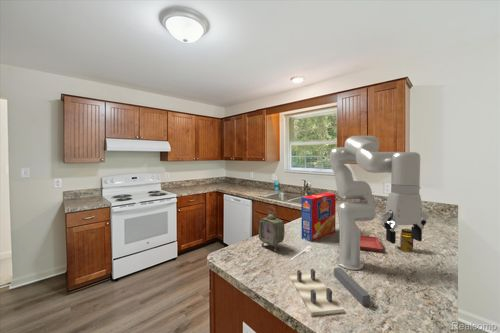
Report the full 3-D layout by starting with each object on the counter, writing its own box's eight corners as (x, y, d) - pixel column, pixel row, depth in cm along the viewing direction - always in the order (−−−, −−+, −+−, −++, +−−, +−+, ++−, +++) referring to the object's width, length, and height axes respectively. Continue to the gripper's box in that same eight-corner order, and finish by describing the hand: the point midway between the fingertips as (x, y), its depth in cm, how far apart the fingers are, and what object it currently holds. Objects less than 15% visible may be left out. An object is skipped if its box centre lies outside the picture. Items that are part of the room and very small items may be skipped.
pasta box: (311, 242, 136) (311, 198, 135) (301, 238, 143) (301, 197, 142) (335, 232, 153) (335, 194, 152) (325, 229, 160) (325, 192, 159)
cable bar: (334, 276, 97) (334, 267, 97) (340, 275, 98) (340, 267, 98) (362, 306, 78) (362, 295, 77) (370, 305, 78) (370, 295, 78)
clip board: (289, 277, 97) (289, 266, 96) (314, 275, 98) (314, 263, 98) (311, 316, 73) (311, 301, 73) (344, 312, 74) (344, 297, 74)
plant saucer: (383, 254, 119) (383, 248, 119) (347, 249, 126) (348, 244, 126) (377, 242, 136) (377, 237, 136) (346, 238, 143) (346, 233, 142)
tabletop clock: (258, 245, 132) (258, 205, 131) (268, 241, 138) (268, 203, 137) (275, 253, 121) (275, 209, 120) (286, 249, 127) (285, 207, 126)
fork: (288, 260, 114) (287, 256, 114) (307, 248, 128) (307, 245, 128) (293, 262, 112) (293, 258, 112) (312, 249, 126) (312, 246, 126)
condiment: (414, 254, 118) (415, 232, 118) (396, 251, 122) (396, 230, 122) (412, 249, 125) (413, 228, 124) (395, 246, 129) (395, 226, 128)
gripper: (417, 187, 75) (415, 235, 76) (372, 188, 72) (372, 238, 73) (439, 190, 68) (437, 243, 68) (390, 192, 65) (389, 247, 66)
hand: (403, 240), depth 71 cm, fingers open, 9 cm apart
